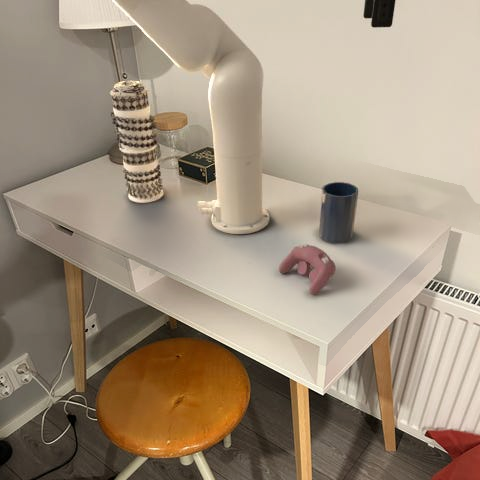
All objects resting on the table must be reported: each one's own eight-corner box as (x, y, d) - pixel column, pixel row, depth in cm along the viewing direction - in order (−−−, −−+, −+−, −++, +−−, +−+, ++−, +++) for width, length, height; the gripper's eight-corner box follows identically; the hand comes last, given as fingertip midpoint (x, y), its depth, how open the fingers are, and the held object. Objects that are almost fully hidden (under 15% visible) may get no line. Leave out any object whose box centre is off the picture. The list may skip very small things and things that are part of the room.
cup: (319, 243, 97) (323, 196, 91) (317, 227, 102) (321, 182, 96) (353, 243, 96) (360, 197, 90) (350, 227, 102) (356, 182, 95)
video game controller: (327, 297, 85) (344, 261, 83) (311, 296, 82) (327, 258, 80) (291, 272, 92) (306, 238, 89) (275, 271, 89) (289, 235, 86)
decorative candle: (119, 195, 118) (97, 84, 102) (151, 184, 122) (134, 76, 107) (140, 207, 112) (119, 91, 97) (172, 194, 117) (158, 82, 101)
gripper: (360, -111, 77) (348, 15, 88) (376, -119, 63) (359, 31, 74) (408, -113, 76) (390, 14, 87) (435, -122, 63) (410, 30, 74)
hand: (376, 22), depth 81 cm, fingers open, 9 cm apart
